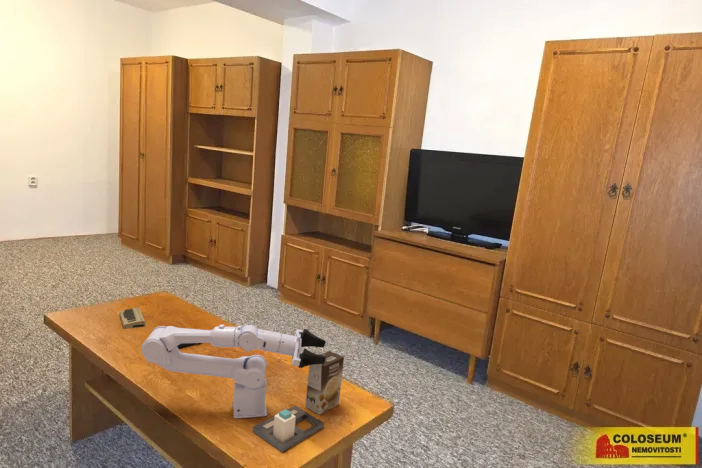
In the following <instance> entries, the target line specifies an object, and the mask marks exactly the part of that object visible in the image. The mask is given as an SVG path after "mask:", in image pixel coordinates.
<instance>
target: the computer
mask: <svg viewBox="0 0 702 468" xmlns="http://www.w3.org/2000/svg"><path fill="white" fill-rule="evenodd" d="M119 317H120V321H121V323H122V327H123V329H124V330H125V329H134V328H136V329H137V328H144V327H146V321H145V319H144V316H143V313H142V312H141V309H140V307H133V308H132V307H131V308H129V309H124V310H120V311H119Z"/></svg>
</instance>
